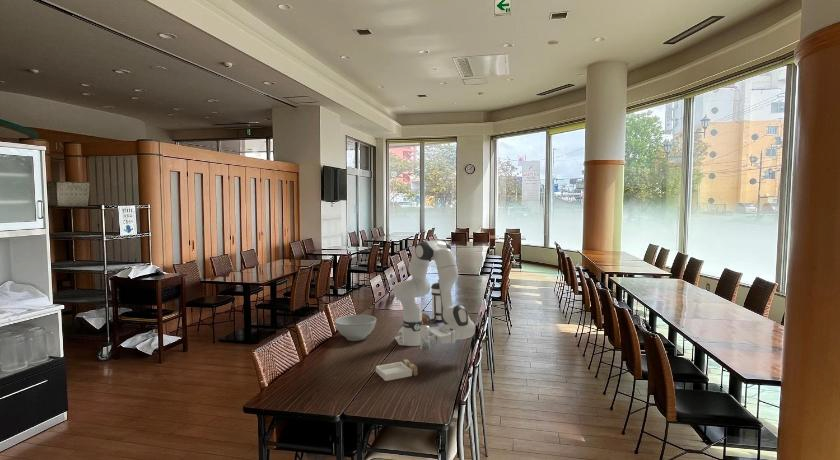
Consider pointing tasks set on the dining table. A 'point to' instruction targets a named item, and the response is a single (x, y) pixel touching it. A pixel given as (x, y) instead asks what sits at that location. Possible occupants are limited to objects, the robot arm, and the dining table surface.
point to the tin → (425, 319)
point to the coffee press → (436, 302)
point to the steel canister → (424, 337)
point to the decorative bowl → (355, 326)
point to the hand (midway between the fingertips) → (423, 336)
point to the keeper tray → (393, 371)
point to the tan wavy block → (411, 366)
